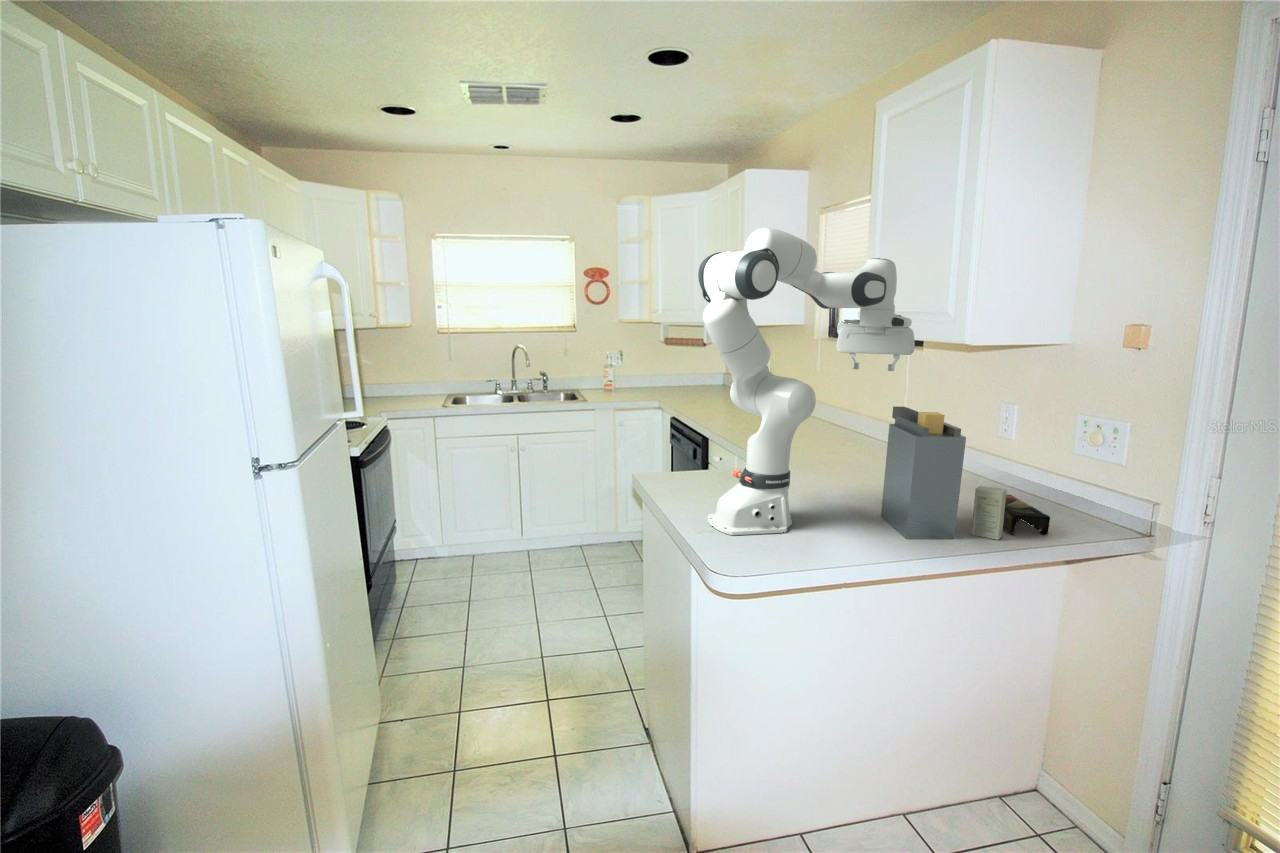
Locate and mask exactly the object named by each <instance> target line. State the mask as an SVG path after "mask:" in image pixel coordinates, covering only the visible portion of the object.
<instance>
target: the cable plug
mask: <svg viewBox="0 0 1280 853" xmlns="http://www.w3.org/2000/svg"><path fill="white" fill-rule="evenodd" d="M895 416H901V417H903V418H906V419H908V420H910V421H913V422H915V423H917V424H920V425H922V426H924V427H927V428H929V433H943V425H944V422H945V417H946V416H945V414H943V413H939V412H937V411H935V412H934V411H933V412H932V411H917V410H914V409H912V408H910V407H906V406H892V416H891V418H892V419H894V420H895Z"/></svg>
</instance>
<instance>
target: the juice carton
mask: <svg viewBox="0 0 1280 853" xmlns="http://www.w3.org/2000/svg"><path fill="white" fill-rule="evenodd" d="M1020 519H1022V520H1024V521H1026V522H1027V523H1029V524H1030V525H1032V526H1033V528H1034V529H1035V528H1036V529H1035V530H1036V531H1038V530H1040V531H1038V534H1039V535H1042V536H1047V535H1048V534H1049V529H1050V521H1051V517H1050V515H1048V514H1045V513H1044V512H1042V511H1041V510H1039V509H1037V508H1035V507H1034V506H1031V505H1029V504H1027V503H1026V502H1025V501H1022V500H1020V499H1019V498H1017V497H1016V496H1013V495H1011V494H1008V493H1006V501H1005V511H1004V521H1003V532H1005V531H1006V532H1005V533H1006V534H1008V535H1009V534H1010V536H1011V535H1014V534H1013V533H1014V531H1015V528H1016V525H1017V523H1018V522H1019V521H1022V520H1020ZM1027 523H1026V524H1027ZM1030 525H1029V526H1030Z"/></svg>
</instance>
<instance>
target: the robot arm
mask: <svg viewBox="0 0 1280 853" xmlns="http://www.w3.org/2000/svg"><path fill="white" fill-rule="evenodd" d="M817 258H818V257H817V252H816V249H815V248H814V247H813V246H812V244H810V243H808V242H807V241H805V240H804V239H802V238H799V237H797V236H795V235H793V234H791V233H789V232H786V231H783V230H780V229H775V228H771V227H761V228H757V229H755V230H754V231H753V232H751V234H750V235H749V236H748V237H747V240H746V241H745V244H744V248H743V250H730V251H723V252H722V251H719V252H715V253H712V254H709V255H708V256H707V257H705V258H704V259H703V260H702V262H700V265H699V268H698V282H699V286H700V289H701V290H702V291H701V292H702V297H703V298H704V300H705V301H706V302H707V303H708V304H707V306H706V307H705V308H704V310H703V313H702V321H703V324H704V326H705V329H706V331H707V334H708V336H709V338H710V340H711V343H712V345H713V346H714V348H715V349H716V351H717V353H718V355H719V356H720V358H721V359H722V361H723V363H724V364H725V366H726V368H727V370H728V371H729V374H730V376H731V378H732V379H731V380H732V383H731V385H730V391H729V395H730V396H729V397H730V400H731V402H732V405H734V406H735V407H736V408H738V409H739V410H741V411H743V412H745V413H747V414H750V415H754V416H757V417H761V422H760V426H759V428H758V431H756V432H754V433H753V434H751V435H750V437H749V438H748V440H747V443H746V461H745V467H744V469H743V471H741V470H739V469H734V470H733V471H732V473H731V474H732V476H733V478H736V479H739V480H738V481H739V482H738V483H737V484H735V485H733V487H731V488H730V489H729V490H728V491H726V492H725V493H723V495H721V496H720V497H719V498H718V501H717V503H716V509H715V512H714V513H709V514H708V515H707V518H706V521H707V523H708V522H709V523H708V524H709V525H710V526H711V527H712V526H713V527H712V528H714V529H715V530H718V532H721V533H723V534H726V535H730V536H741V535H742V536H743V535H746V536H747V535H762V534H765V535H767V534H778V533H779V534H780V533H782V534H783V532H784V533H787V531H788V528H789V527H791V526H792V524H793V521H792V516H791V511H790V502H789V501H790V498H789V488H790V484H791V470H789V469H790V461H791V460H790V457H791V448H792V442H793V440H794V435H795V434H796V431H797V430H798V429H799V427H800V425H801V424H802V423H803V422H804V421H806V420H807V419H809V418H810V417H811V415H812V414H813V412H814V410H815V407H816V403H817V397H816V394H815V393H816V392H815V390H814V389H813V388H812V386H811V385H810V384H808V383H805V382H803V381H801V380H799V379H796V378H794V377H793V378H792V377H786V376H779V375H774V374H773V373H772V372H771V371H770V370H769V368H768V366H767V365H768V363H769V361H770V360H771V355H772V354H771V349H770V347H769V346H768V343H767V342H766V341H765V338H764V337H763V335H762V333H761V331H760V329H759V328H758V326H757V325H756V322H755V321H754V320H753V318H752V316H751V315H750V312H749V309H748V300H751V301H754V300H761V299H763V298H766V297H768V296H769V295H770V294H771V293H772V291H774V288H775V287H776V284H777V282H780V283H782V284H787V285H789V286H791V287H792V288H795V289H797V290H799V291H801V292H803V293H805V294H806V295H807V296H809V297H810V298H811V299H812V300H813V302H815V304H816V305H817V306H818V307H820V308H821V309H824V310H825V309H826V310H830V309H831V310H832V309H859V319H843V320H840V322H838V324H837V328H836V333H837V335H838V337H837V340H836V341H837V342H836V350H837V352H838V353H839V354H841V353H843V354H848V357H849V360H850V362H851V363H852V365H851V366H852V367H851V369H852V370H859V369H860V362H857V361H856V360H855V357H856V354H869V355H870V354H871V355H872V354H873V355H875V354H876V355H893V356H892V357H893V359H894V360H893V362H891V363H889V364H887V371H888V372H894V371H895V365H896V364H897V363H898V361H899V360H900V357H901V356H910V355H912V354H914V352H915V346H916V345H915V343H916V341H915V332H914V331H913V329H912V328H911V326H912V319H911V318H909V317H906V316H902V315H901V314H897V313H895V311H896V310H895V308H896V306H895V296H896V293H897V284H898V283H897V281H898V280H897V278H898V276H897V274H898V273H897V272H898V271H897V267H896V264H895V262H894V261H892V260H891V259H888V258H880V257H878V258H875V257H874V258H869V259H867V260H866V262H865V263H864V265H862V266H861V267H860V268H857V269H855V270H854V271H853V270H852V271H839V272H837V271H825V272H824V271H823V272H819V271H817V270H816V267H817V263H818V259H817Z"/></svg>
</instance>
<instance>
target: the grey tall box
mask: <svg viewBox="0 0 1280 853" xmlns="http://www.w3.org/2000/svg"><path fill="white" fill-rule="evenodd" d="M966 443H967V437H966V436H964V435H962V428H959V427H957V426H956V425H953V424H950V423H947V422H946V421H944V425H943V433H929V428H927V427H924V426H922V425H920V424H917V423H915V422H913V421H910V420H908V419H906V418H903V417H901V416H895V419H894V423H889V425H888V436H887V447H886V459H885V469H884V478H883V490H882V491H883V492H882V502H881V510H880V511H881V512H880V518H881V519H883V520H884V522H886V523H887V524H888V525H889V526H891V527H892V528H893V529H894V530H895V531H896V532H898V533H899V535H901V536H902V537H903V538H904V539H906V540H955V536H956V535H955V534H956V526H957V517H958V511H959V501H960V500H959V499H960V492H961V483H962V478H963V477H962V475H963V469H964V468H963V467H964V459H965V449H966Z"/></svg>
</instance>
